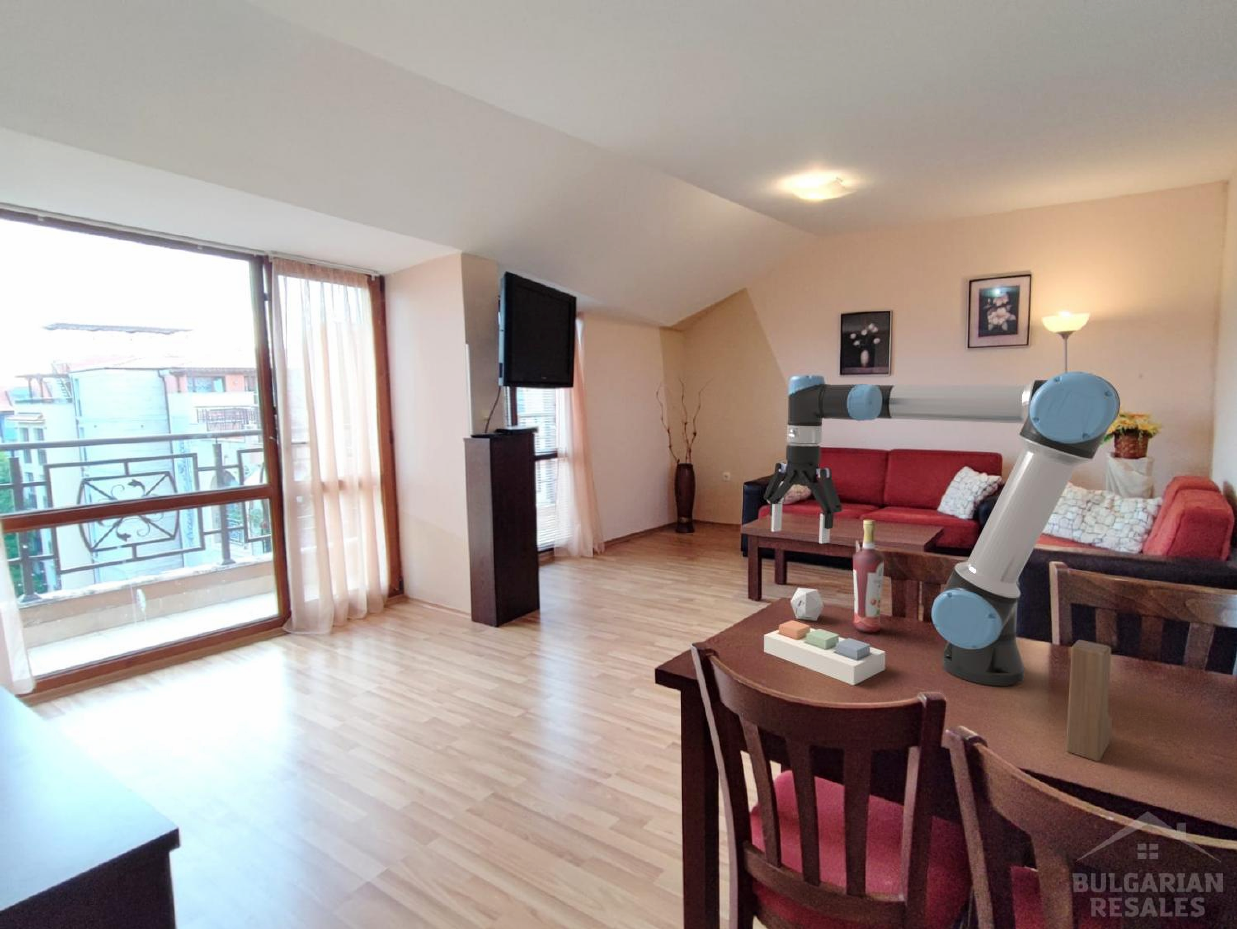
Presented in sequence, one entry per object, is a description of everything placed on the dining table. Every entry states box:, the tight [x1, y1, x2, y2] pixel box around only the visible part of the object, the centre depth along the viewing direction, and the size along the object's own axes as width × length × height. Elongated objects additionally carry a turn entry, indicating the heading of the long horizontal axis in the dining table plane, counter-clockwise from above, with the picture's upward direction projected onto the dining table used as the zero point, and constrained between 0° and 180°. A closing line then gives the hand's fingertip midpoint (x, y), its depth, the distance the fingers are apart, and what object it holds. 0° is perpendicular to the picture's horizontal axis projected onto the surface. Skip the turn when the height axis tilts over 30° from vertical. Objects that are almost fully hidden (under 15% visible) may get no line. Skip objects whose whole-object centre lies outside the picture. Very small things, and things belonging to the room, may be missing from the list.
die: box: [790, 587, 824, 622], centre depth 169 cm, size 8×9×10 cm
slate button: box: [836, 637, 871, 661], centre depth 135 cm, size 5×5×3 cm
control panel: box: [763, 627, 886, 686], centre depth 141 cm, size 23×12×4 cm, turn 38°
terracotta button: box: [778, 619, 811, 640], centre depth 147 cm, size 5×5×3 cm
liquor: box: [852, 519, 885, 634], centre depth 159 cm, size 7×7×28 cm
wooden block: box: [1065, 639, 1113, 762], centre depth 104 cm, size 9×4×18 cm, turn 133°
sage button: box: [806, 628, 840, 650], centre depth 141 cm, size 5×5×3 cm
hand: (799, 536), depth 145 cm, fingers open, 13 cm apart
